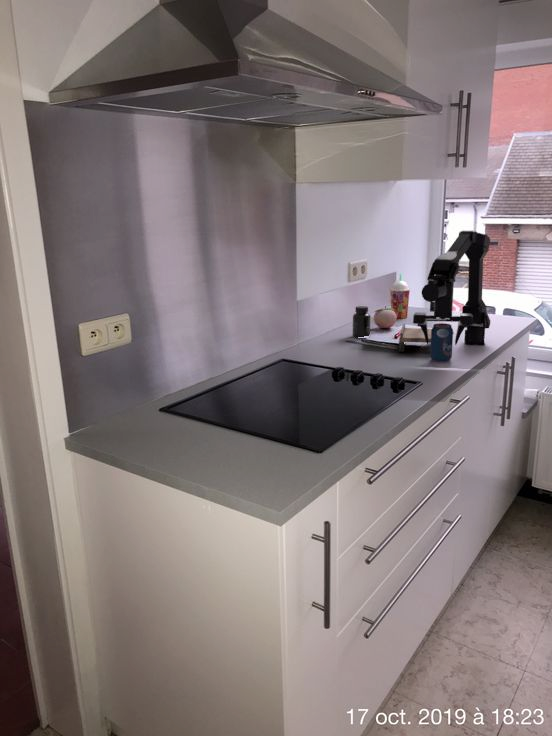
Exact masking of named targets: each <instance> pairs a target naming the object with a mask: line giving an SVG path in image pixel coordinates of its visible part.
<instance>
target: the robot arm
mask: <svg viewBox="0 0 552 736" xmlns="http://www.w3.org/2000/svg"><path fill="white" fill-rule="evenodd" d="M490 246H491V238H490V236H488V234H487V233H481V232H477V231H476V230H472V229H471V230H470V229H469V230H465V229H462V230H460V231H459V232H458V235H457V237H456V239H455V240H454V242H453V243H452V244H451V246H450V247H449V248H448V250H447V251H446V252H445V253H442V254H439V255H438V256H437V257H436V258H435V259H434V261H433V262H432V264H431V267H430V270H429V273H428V275H427V280H426V281H427V284H425V285H424V286H423V287H422V290H421V297H422V298H423V299H424V300H425V302H428V303H430V304H429V312H431V313H432V312H433V315H431V314H430V315H427V312H418V311H417V312H414V314H413V321H412V323H413V325H414V324H415V325H417V327H419V328H421V329H422V331H423V333H424V336H425V339H426V342H427V343H426V344H427V345H429V343H428V329H429V328H428V322H450V323H451V322H455V323H456V322H457V328H456V334H455V339H454V345H455V346H457V344H458V342H459V340H460V337H461V335H462V333H463V332H464V343H465V345H471V346H472V345H474V346H476V345H478V346H485V345H486V342H485V335H486V329H490V325H491V319H490V317H489V314H488V312H487V305H486V304H485V303H486V302H484V300H483V282H484V281H483V278H484V275H483V274H484V258H485V257H486V255H487V254H488V253H489V249H490ZM464 255H465V256H466V257H467V259H468V286H467V288H468V289H467V301H466V302H465V304H464V305H463V306H462V307H461V309H462V312H461V313H460V314H459V315H453V305H454V303H453V302H454V288H455V287H454V285H455V284H454V283H455V282H456V276H457V274H458V272H459V271H460V270H459V269H460V261H461V259H462V257H464ZM465 328H466V329H465Z"/></svg>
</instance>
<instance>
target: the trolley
mask: <svg viewBox="0 0 552 736" xmlns="http://www.w3.org/2000/svg"><path fill="white" fill-rule="evenodd" d="M427 329H428V344H431V330H432V328H427ZM404 342H406V343H422V344H423V343H426V344H427V342H426V339H425V336H424V333H423V331H422V329H421V327H419V328H417V327H416V328H415V327H414V328H413V327H412V328H411V327H406V324H405V323H403V324H402V326H401V330H400V333H399V340H398V352H399V353H400V352H401V353H403V352H404V353H405V344H404Z"/></svg>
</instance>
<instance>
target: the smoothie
mask: <svg viewBox="0 0 552 736" xmlns="http://www.w3.org/2000/svg"><path fill="white" fill-rule="evenodd" d="M410 289H411V288H410V287H409V285H408V283H407V282H406V281H404V280H402V274H401V273H400V274H399V280H396V281H395V282H393V284H392V285H391V288H390V308H392V309H394V310H395V311H394V310H393V311H394V312H395V314H396V316H397V318H396V320H398V319H399V320H400V319H407V318H408V311H409V301H410V300H409V299H410V291H411V290H410Z"/></svg>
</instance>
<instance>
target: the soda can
mask: <svg viewBox="0 0 552 736" xmlns="http://www.w3.org/2000/svg"><path fill="white" fill-rule="evenodd" d="M431 329H432V330H431V343H430V350H429V351H430V352H429V353H430V355H429V356H430V359H431V360H432V362H434V363H448V362H450V361H451V359H452V357H453V341H454V340H453V338H454V329H453V328H452V324H450V323H434V324H433V326H432V328H431Z"/></svg>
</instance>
